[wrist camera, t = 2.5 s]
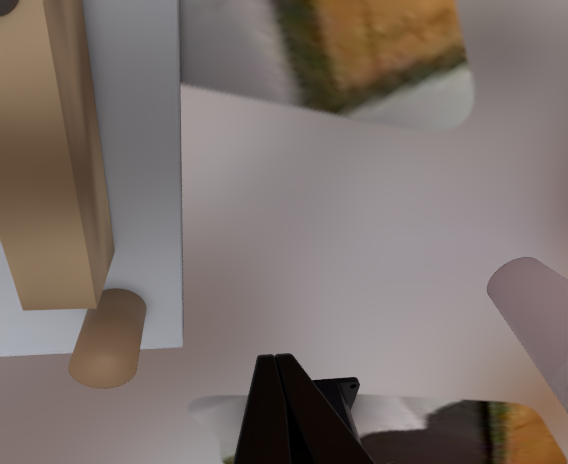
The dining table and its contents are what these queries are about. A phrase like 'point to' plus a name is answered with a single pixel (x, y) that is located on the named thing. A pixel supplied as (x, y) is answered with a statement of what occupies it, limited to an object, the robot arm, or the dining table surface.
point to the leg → (51, 158)
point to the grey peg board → (123, 203)
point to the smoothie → (536, 316)
